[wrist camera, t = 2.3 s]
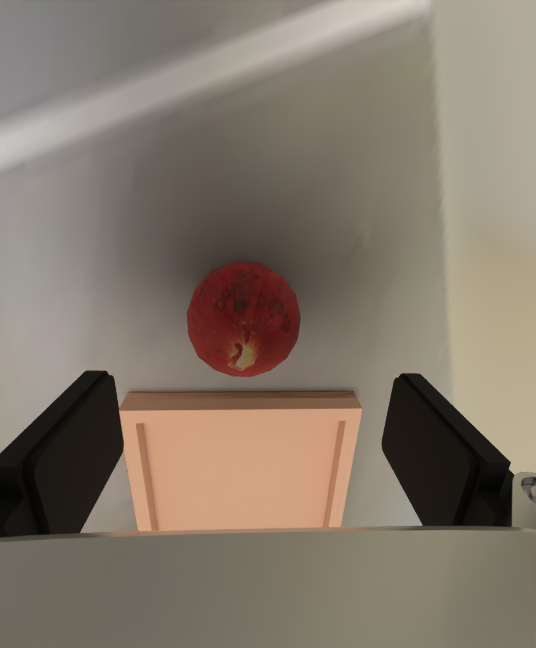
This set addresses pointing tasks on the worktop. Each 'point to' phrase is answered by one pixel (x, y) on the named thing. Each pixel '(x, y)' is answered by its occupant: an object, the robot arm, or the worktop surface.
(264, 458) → the dish
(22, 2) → the worktop surface
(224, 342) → the red round fruit
